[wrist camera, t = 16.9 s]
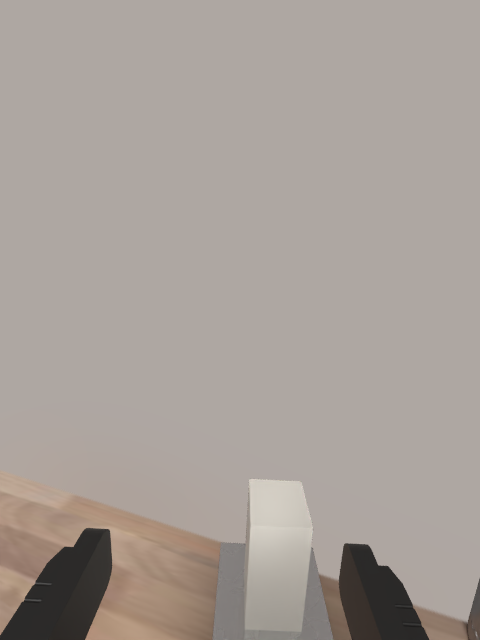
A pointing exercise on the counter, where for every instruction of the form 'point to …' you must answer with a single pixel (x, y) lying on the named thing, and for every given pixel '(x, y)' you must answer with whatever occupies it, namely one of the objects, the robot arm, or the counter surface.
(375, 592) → the robot arm
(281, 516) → the cream block
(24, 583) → the counter surface
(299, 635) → the block
